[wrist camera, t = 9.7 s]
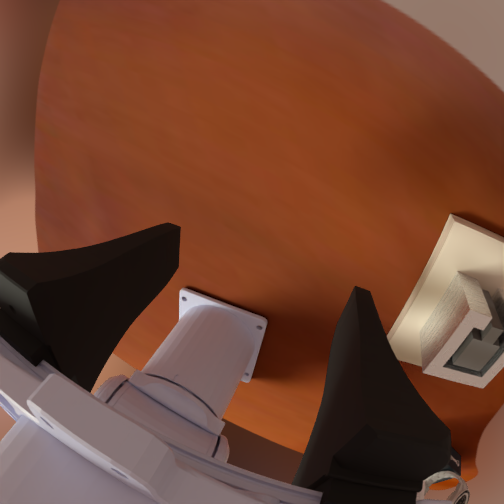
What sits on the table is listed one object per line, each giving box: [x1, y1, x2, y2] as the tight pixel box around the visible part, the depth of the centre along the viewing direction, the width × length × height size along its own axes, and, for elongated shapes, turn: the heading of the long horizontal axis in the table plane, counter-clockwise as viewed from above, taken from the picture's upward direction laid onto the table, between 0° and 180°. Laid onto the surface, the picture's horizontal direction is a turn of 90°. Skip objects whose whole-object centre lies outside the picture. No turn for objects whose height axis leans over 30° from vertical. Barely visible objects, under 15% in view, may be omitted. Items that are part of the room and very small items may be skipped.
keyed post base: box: [387, 214, 504, 371], centre depth 17 cm, size 12×9×5 cm
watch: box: [424, 447, 470, 504], centre depth 25 cm, size 6×8×11 cm
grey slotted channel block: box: [420, 271, 504, 388], centre depth 17 cm, size 6×6×4 cm
